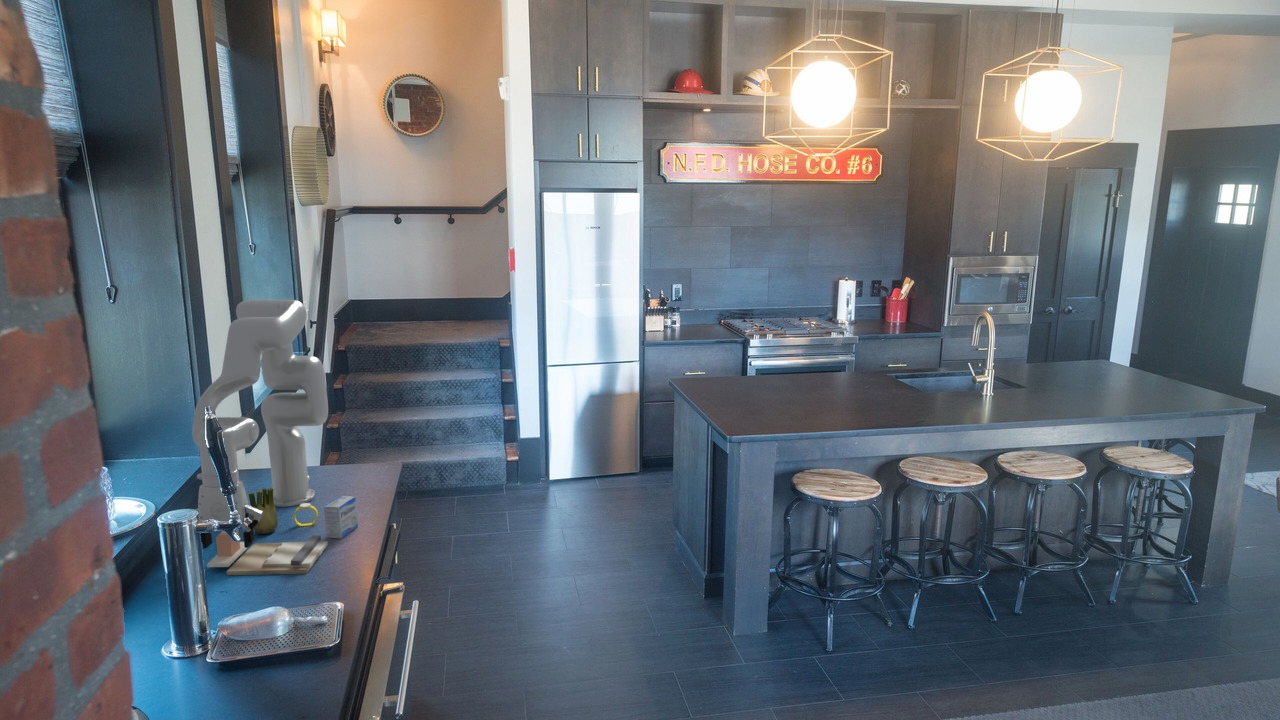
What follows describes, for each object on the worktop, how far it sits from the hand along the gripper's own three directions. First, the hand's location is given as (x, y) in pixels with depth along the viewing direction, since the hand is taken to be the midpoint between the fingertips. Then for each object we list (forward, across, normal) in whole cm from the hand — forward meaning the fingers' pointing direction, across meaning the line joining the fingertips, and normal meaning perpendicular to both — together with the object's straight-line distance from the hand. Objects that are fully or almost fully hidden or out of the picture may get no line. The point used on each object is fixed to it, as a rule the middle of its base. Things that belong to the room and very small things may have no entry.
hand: (228, 545), depth 188 cm
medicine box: (+4, +22, +16) cm, 27 cm away
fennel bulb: (+4, +2, +16) cm, 17 cm away
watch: (+4, +11, +20) cm, 23 cm away
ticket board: (+4, +12, 0) cm, 12 cm away
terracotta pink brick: (+3, 0, 0) cm, 3 cm away
